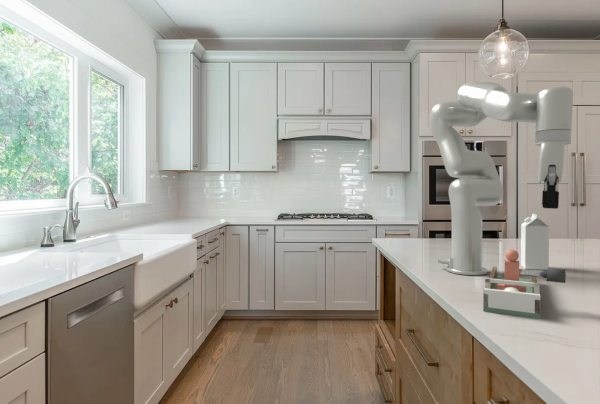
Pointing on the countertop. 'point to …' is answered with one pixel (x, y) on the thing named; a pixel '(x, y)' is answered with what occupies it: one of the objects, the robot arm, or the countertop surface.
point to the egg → (511, 289)
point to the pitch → (510, 312)
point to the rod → (527, 272)
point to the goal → (511, 296)
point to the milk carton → (534, 244)
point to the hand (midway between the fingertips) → (549, 206)
